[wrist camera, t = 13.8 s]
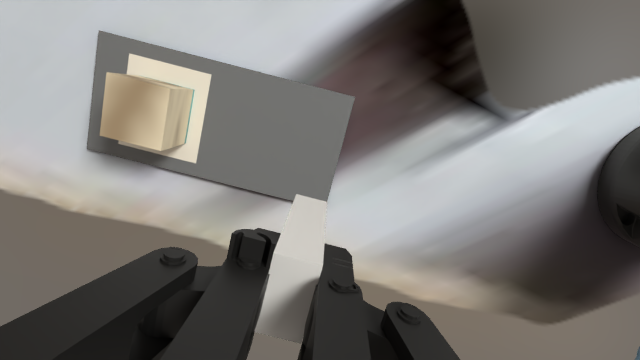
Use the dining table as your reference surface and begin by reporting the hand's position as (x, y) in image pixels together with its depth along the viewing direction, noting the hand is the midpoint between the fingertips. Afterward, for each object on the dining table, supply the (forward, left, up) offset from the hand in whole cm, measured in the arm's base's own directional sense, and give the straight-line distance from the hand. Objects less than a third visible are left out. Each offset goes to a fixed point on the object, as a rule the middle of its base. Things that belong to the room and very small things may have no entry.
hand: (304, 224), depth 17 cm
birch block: (+18, 0, -18) cm, 25 cm away
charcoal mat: (+12, 0, -24) cm, 27 cm away
